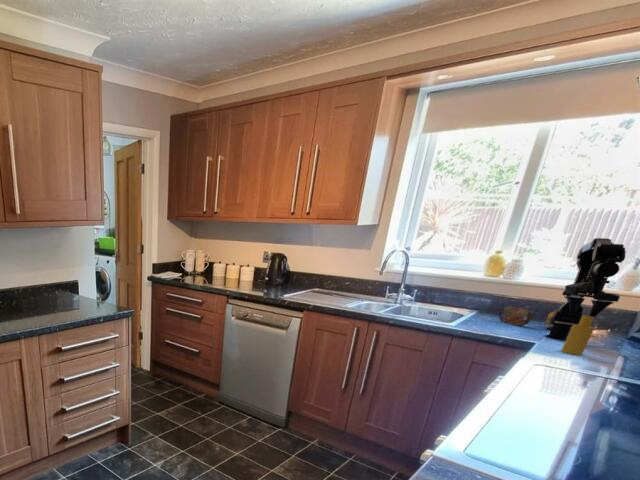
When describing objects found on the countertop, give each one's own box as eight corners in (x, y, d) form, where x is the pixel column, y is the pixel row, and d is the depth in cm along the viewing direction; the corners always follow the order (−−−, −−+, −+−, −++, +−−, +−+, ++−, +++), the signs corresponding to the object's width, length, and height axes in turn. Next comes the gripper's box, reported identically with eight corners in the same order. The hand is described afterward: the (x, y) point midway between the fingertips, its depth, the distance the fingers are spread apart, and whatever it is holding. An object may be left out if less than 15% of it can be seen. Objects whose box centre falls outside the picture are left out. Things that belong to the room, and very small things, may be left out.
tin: (496, 320, 227) (502, 304, 224) (501, 320, 227) (507, 304, 224) (523, 327, 213) (530, 310, 210) (529, 327, 213) (535, 310, 210)
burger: (565, 328, 215) (573, 308, 211) (587, 335, 202) (596, 314, 199) (535, 326, 217) (543, 306, 213) (555, 332, 204) (564, 312, 201)
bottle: (568, 350, 174) (585, 314, 169) (585, 354, 169) (603, 318, 163) (557, 350, 173) (573, 314, 167) (574, 355, 168) (591, 318, 162)
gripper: (556, 273, 176) (541, 311, 181) (595, 276, 158) (578, 318, 163) (585, 276, 175) (569, 313, 180) (629, 279, 157) (610, 321, 162)
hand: (580, 316), depth 171 cm, fingers open, 9 cm apart
